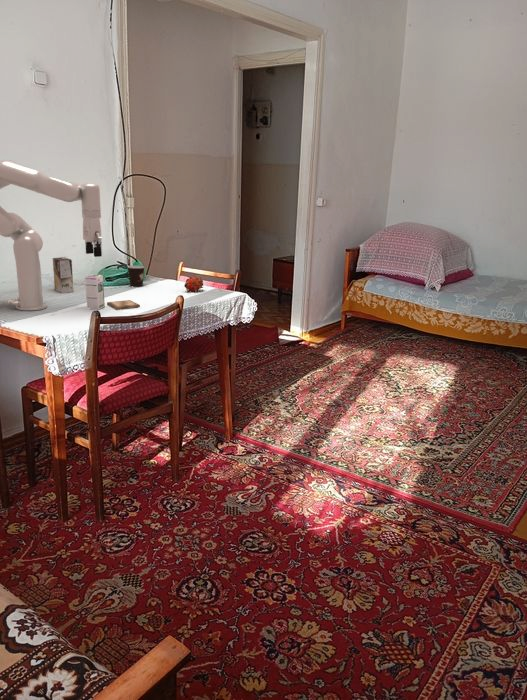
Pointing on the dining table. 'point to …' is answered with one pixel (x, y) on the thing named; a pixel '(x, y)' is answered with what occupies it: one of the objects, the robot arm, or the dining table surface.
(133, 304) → the walnut board
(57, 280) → the coffee box
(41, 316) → the dining table surface
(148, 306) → the dining table surface
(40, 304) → the robot arm
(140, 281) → the coffee mug
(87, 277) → the syrup box
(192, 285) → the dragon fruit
